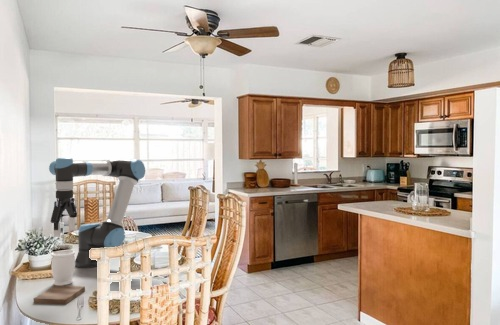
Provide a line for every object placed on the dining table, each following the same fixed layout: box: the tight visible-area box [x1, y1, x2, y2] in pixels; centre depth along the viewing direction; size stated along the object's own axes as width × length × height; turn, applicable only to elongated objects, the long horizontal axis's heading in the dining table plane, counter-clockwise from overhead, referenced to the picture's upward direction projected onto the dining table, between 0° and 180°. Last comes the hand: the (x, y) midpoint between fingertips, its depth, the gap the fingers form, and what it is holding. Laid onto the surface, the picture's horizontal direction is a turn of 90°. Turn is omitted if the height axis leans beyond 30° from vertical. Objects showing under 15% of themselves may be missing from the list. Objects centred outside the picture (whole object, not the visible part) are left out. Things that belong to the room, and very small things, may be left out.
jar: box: [50, 249, 76, 286], centre depth 183 cm, size 11×10×15 cm
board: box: [33, 285, 86, 305], centre depth 166 cm, size 16×14×2 cm
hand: (64, 233), depth 182 cm, fingers open, 13 cm apart
